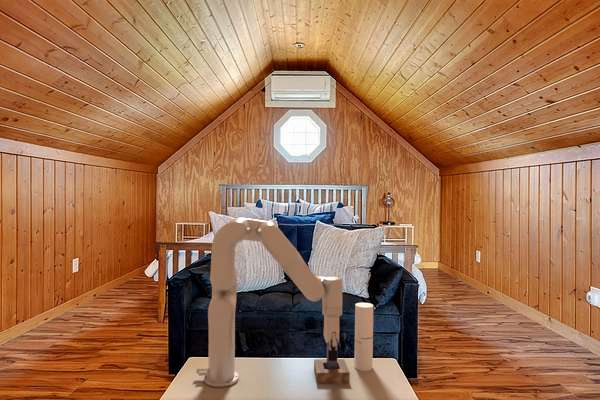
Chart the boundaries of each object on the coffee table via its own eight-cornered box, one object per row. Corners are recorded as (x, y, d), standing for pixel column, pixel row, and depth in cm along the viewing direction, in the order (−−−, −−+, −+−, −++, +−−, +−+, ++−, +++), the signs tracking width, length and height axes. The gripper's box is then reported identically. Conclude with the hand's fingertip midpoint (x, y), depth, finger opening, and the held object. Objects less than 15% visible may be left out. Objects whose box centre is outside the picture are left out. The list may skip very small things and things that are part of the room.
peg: (327, 369, 157) (327, 337, 157) (326, 365, 161) (326, 334, 161) (337, 369, 157) (338, 337, 157) (336, 365, 161) (336, 334, 161)
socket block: (316, 383, 153) (317, 372, 153) (313, 369, 165) (314, 359, 165) (349, 383, 153) (349, 372, 153) (344, 369, 165) (344, 359, 165)
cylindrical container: (372, 371, 164) (373, 308, 163) (353, 369, 165) (354, 306, 165) (372, 364, 171) (373, 303, 170) (354, 362, 172) (355, 302, 172)
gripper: (320, 304, 167) (319, 349, 167) (324, 316, 150) (324, 367, 150) (338, 303, 167) (338, 349, 168) (345, 316, 150) (345, 367, 151)
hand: (331, 357), depth 159 cm, fingers closed on peg, 4 cm apart
